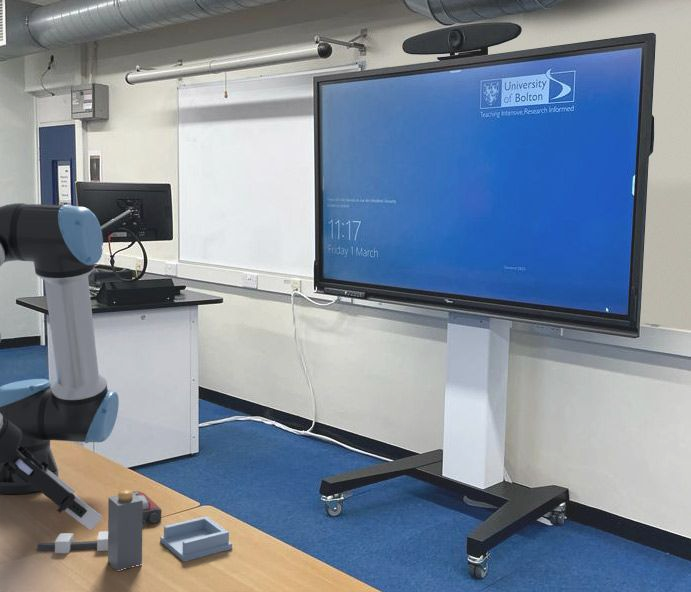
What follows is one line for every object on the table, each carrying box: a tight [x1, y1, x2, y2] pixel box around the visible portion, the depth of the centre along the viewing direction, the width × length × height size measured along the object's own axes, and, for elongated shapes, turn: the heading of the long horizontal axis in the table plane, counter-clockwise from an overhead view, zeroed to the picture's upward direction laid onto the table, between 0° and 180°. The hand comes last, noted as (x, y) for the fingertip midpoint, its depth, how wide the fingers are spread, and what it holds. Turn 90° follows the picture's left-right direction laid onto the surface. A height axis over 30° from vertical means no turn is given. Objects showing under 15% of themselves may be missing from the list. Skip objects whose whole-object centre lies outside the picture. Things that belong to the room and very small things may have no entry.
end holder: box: [159, 515, 233, 563], centre depth 145 cm, size 10×10×3 cm
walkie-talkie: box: [116, 491, 163, 526], centre depth 156 cm, size 9×4×20 cm
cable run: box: [36, 530, 108, 554], centre depth 142 cm, size 4×16×2 cm, turn 102°
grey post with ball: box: [107, 489, 143, 572], centre depth 136 cm, size 4×4×13 cm
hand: (82, 509), depth 130 cm, fingers open, 13 cm apart
